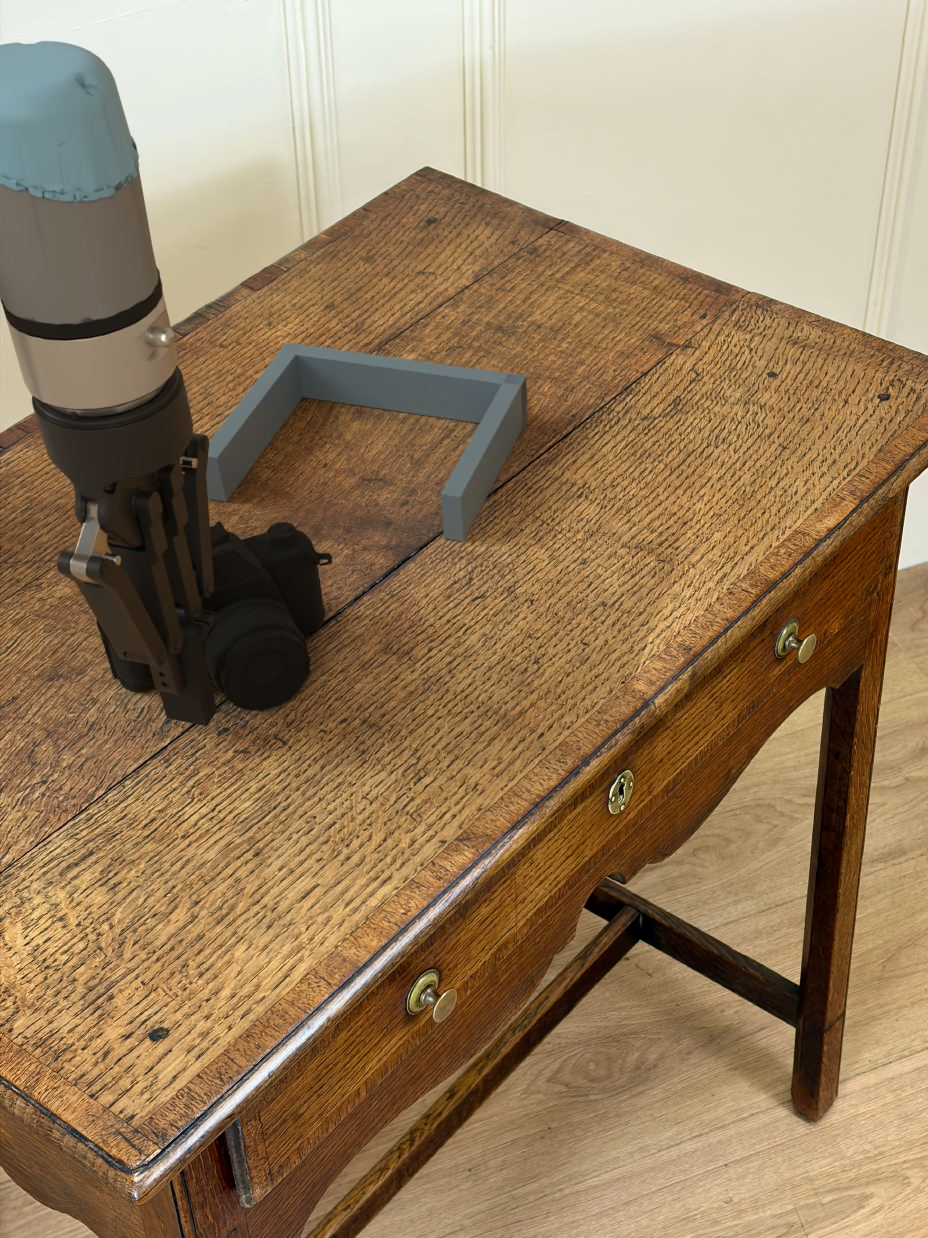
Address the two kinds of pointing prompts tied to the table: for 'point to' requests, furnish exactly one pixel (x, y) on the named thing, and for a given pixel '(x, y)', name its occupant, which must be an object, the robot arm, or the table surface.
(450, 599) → the table surface
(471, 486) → the u-shaped bracket
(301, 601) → the film camera
